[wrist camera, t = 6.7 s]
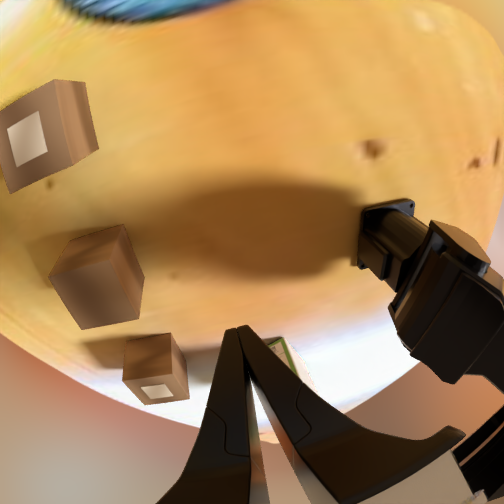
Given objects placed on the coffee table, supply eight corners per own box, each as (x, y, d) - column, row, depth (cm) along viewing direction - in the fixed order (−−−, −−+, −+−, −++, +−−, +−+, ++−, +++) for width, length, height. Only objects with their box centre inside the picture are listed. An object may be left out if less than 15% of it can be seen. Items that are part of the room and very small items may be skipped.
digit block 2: (171, 332, 25) (172, 374, 21) (185, 360, 28) (189, 399, 24) (125, 340, 25) (121, 381, 21) (144, 368, 28) (143, 405, 23)
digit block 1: (85, 82, 13) (53, 79, 9) (99, 148, 16) (72, 166, 11) (27, 110, 12) (-12, 119, 8) (42, 171, 15) (8, 195, 11)
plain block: (123, 223, 19) (109, 259, 15) (144, 276, 22) (139, 319, 17) (70, 240, 18) (48, 276, 14) (94, 288, 21) (81, 330, 17)
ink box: (252, 351, 29) (287, 460, 18) (283, 334, 29) (329, 443, 18) (277, 374, 33) (311, 464, 22) (304, 360, 33) (344, 449, 22)
